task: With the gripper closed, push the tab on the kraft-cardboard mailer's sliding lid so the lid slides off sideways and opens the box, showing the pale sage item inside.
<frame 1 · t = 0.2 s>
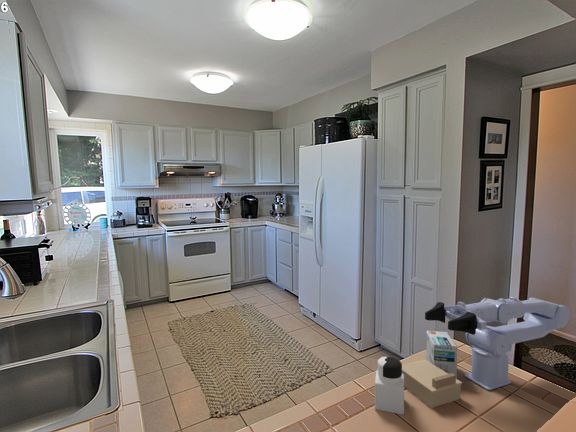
hand: (437, 320, 87), 21 cm above the counter, tool horizontal, fingers open, 7 cm apart
medicine bottle: (389, 404, 85), on the counter
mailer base: (427, 389, 91), on the counter
mailer lid: (428, 371, 91), point 5 cm above the counter, slide at 0.0 cm
light bulb box: (440, 371, 101), on the counter
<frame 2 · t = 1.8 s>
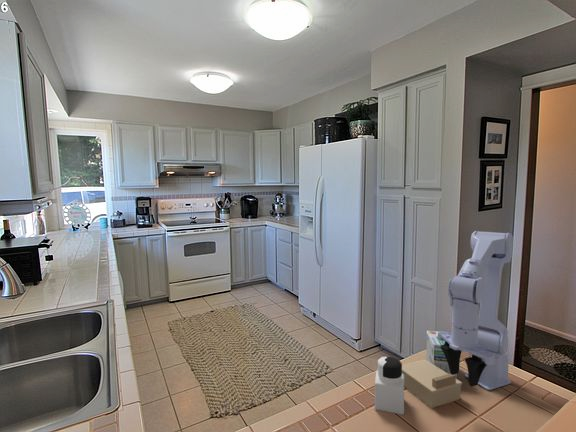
hand: (463, 379, 80), 9 cm above the counter, tool pointing down, fingers open, 5 cm apart
nothing on the counter moved.
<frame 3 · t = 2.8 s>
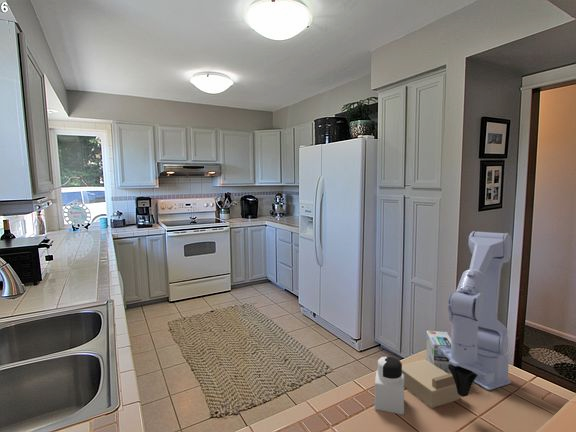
hand: (463, 394, 80), 5 cm above the counter, tool pointing down, fingers closed
nothing on the counter moved.
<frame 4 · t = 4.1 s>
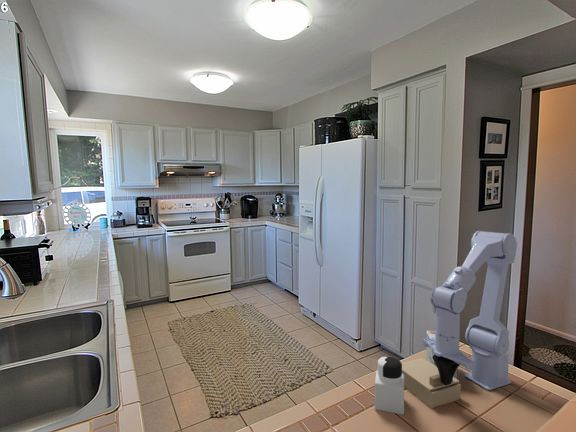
hand: (446, 383, 85), 5 cm above the counter, tool pointing down, fingers closed
mailer lid: (425, 369, 92), point 6 cm above the counter, slide at 0.9 cm, touching gripper
everything else where it was.
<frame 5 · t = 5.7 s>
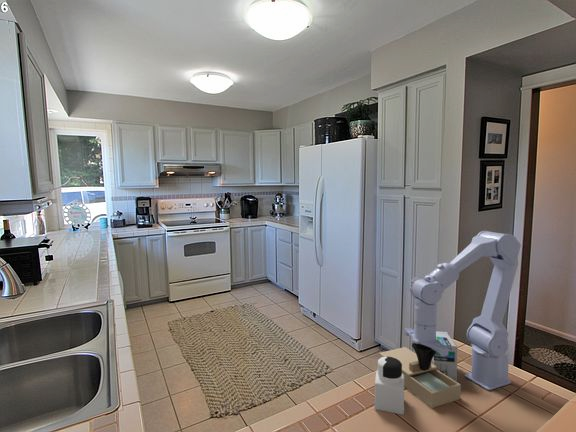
hand: (424, 369, 92), 5 cm above the counter, tool pointing down, fingers closed
mailer lid: (406, 357, 99), point 6 cm above the counter, slide at 8.5 cm, touching gripper
everything else where it was.
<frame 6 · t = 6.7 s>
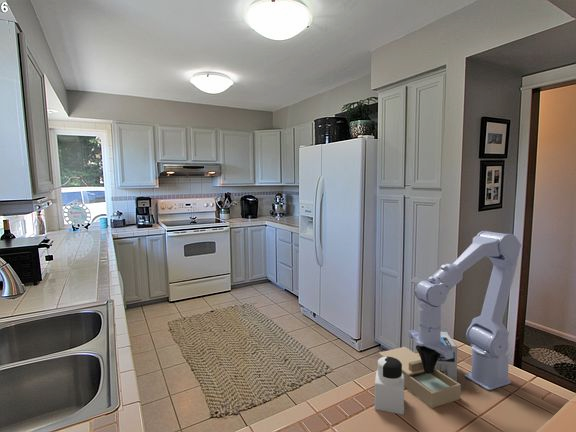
hand: (428, 371, 91), 5 cm above the counter, tool pointing down, fingers closed
mailer lid: (406, 356, 99), point 6 cm above the counter, slide at 8.7 cm
everything else where it was.
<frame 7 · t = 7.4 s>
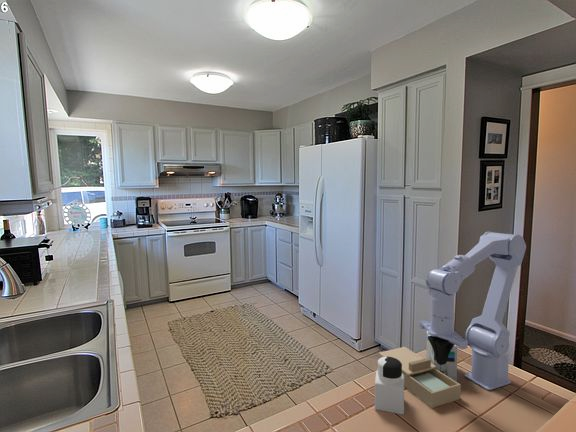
hand: (441, 363, 88), 9 cm above the counter, tool pointing down, fingers closed
nothing on the counter moved.
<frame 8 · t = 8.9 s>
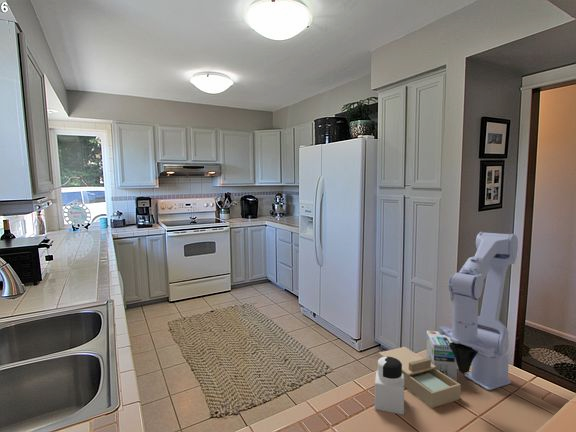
hand: (463, 371, 83), 9 cm above the counter, tool pointing down, fingers closed
nothing on the counter moved.
at the end: mailer lid slide at 8.7 cm; light bulb box moved 0.3 cm from its start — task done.
